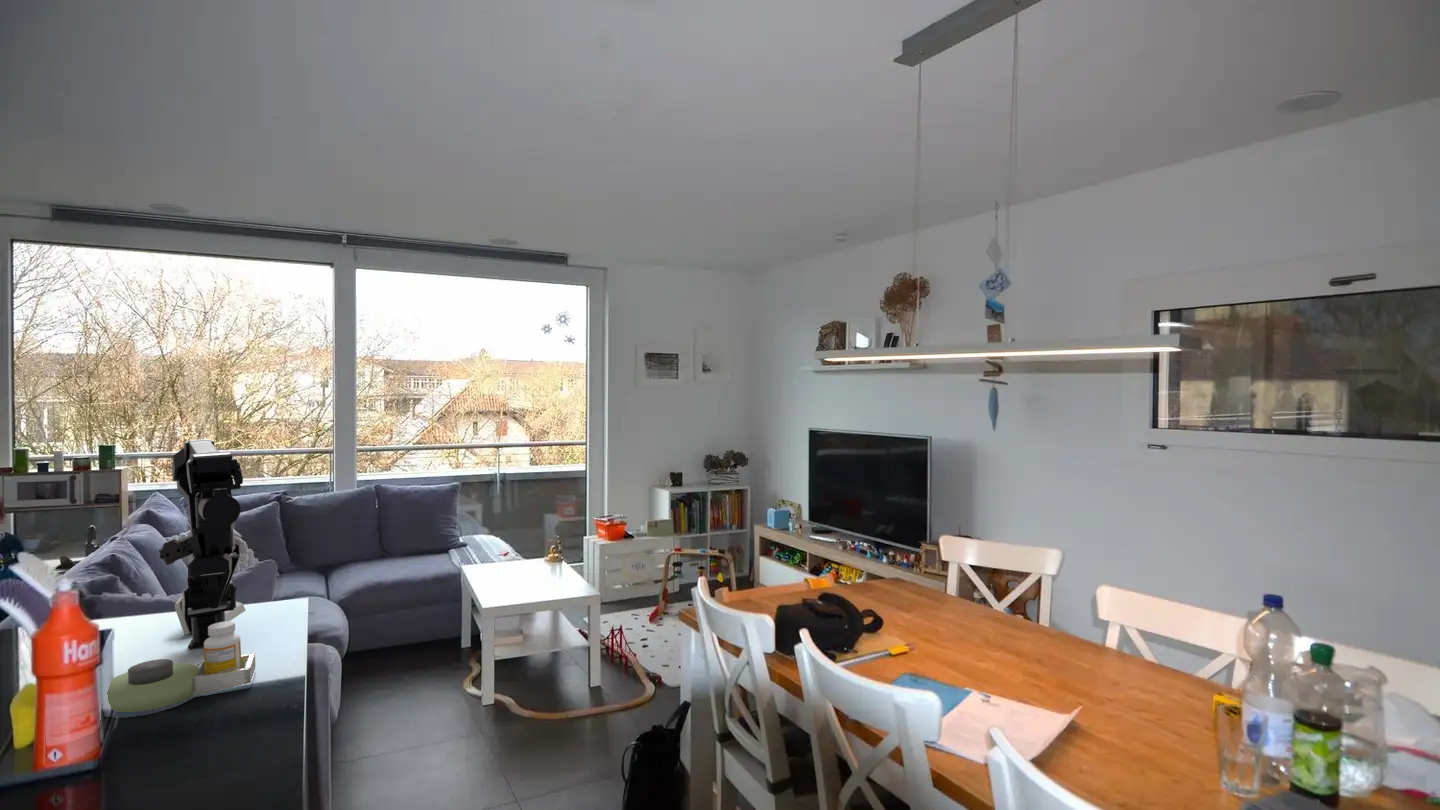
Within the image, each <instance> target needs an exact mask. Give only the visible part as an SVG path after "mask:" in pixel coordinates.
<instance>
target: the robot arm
mask: <svg viewBox="0 0 1440 810" xmlns="http://www.w3.org/2000/svg"><path fill="white" fill-rule="evenodd" d="M215 446H216V445H215V441H214V439H210V438H203V439H188V440H187V441H184V442H183V448H182V449H180V450H179V451H178V452H176V453H175V454H174V455H173V456H172V463H171V476H172V481H173V482H176V489H177V492H178V493H179V494H180V495H181V496H182V497H183V498H184V499H185V500H186V501H187V509H188V510H187V512H188V520H189V531H190V535H188V536H185V537H182V538H179V539H175V538H172V540H169V541H165V542H164V543H163V545H162V547H160V548H159V549H158V552H159V559H161V560H163V562H164V564H165V565H166V566H169V565H172V564H174V563H175V562H176V561H180V560H181V559H184V558H186V557H188V556H191V555H192V560H191V561H190V562H189V563H188V565H187V576H188V577H187V579H186V582H185V588H182V594H181V596H182V614H183V617H184V619H188V618H191V621H192V633H191V640H190V642H189V643H188V645H187V649H188V650H189V649H197V648H202V647H203V648H204V642H205V640H206V639H208V638H209V637H210V636H209V635H208V627H209V626H210V625H212V624H215V623H219V622H225V611H232V610H234V608H236V601H237V600H236V599H237V591H238V590H237V589H238V588H237V586H235V585H234V583H233V581H232V579H233V575H234V573H235V571H236V568H237V565H238V563H239V560H240V558H241V554H242V542H240V541H239V540H238V539H236V538H234V528H235V523H236V521H237V520H238V518H239V516H240V515H241V505H240V503H239V501H238V500H237V499H236V498H234V497H233V496H232V490H240V489H241V487H242V485H243V484H244V483H243V482H244V478H243V474H242V473H243V472H242V468H241V464H240V462H238V459H237V458H236V457H233V454H232V453H231V452H229V451H219V450H218V449H217V448H216V447H215ZM235 553H236V554H235ZM232 554H234V555H232ZM188 608H191V610H188Z"/></svg>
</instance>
